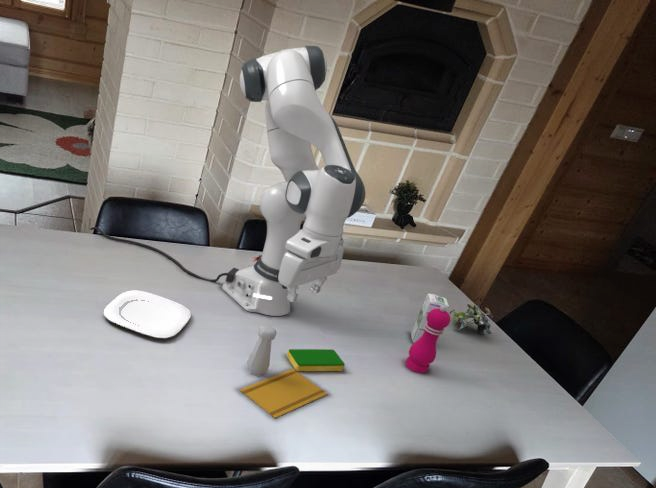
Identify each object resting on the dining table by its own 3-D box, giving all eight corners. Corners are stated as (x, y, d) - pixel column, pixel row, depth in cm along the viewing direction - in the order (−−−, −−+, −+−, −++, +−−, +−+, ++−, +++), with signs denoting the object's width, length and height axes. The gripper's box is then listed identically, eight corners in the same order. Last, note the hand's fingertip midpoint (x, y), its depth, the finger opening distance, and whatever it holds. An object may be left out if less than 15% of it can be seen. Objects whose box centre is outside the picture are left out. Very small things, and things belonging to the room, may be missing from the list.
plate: (94, 320, 172) (94, 315, 171) (129, 290, 190) (129, 285, 189) (168, 348, 168) (169, 342, 167) (196, 314, 185) (198, 309, 184)
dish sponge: (286, 356, 175) (288, 348, 173) (331, 356, 179) (333, 349, 177) (296, 371, 169) (299, 364, 168) (342, 371, 173) (345, 364, 172)
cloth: (239, 390, 157) (239, 389, 157) (292, 369, 170) (292, 368, 169) (275, 418, 151) (275, 417, 150) (327, 394, 163) (327, 393, 163)
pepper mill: (428, 364, 185) (457, 304, 174) (428, 377, 179) (458, 315, 168) (403, 356, 186) (431, 296, 175) (403, 368, 180) (431, 307, 169)
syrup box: (430, 347, 194) (450, 305, 186) (411, 342, 194) (430, 300, 186) (428, 338, 198) (447, 297, 190) (409, 333, 199) (427, 292, 191)
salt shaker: (243, 363, 168) (255, 320, 161) (264, 365, 169) (277, 323, 162) (247, 376, 163) (259, 333, 156) (268, 378, 164) (282, 336, 157)
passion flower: (470, 346, 211) (502, 333, 201) (446, 341, 206) (478, 327, 196) (463, 315, 215) (494, 300, 205) (440, 309, 210) (470, 294, 200)
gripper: (333, 229, 153) (317, 282, 160) (281, 242, 140) (266, 299, 147) (355, 239, 150) (338, 292, 157) (304, 253, 136) (288, 311, 144)
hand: (303, 296), depth 152 cm, fingers open, 8 cm apart
